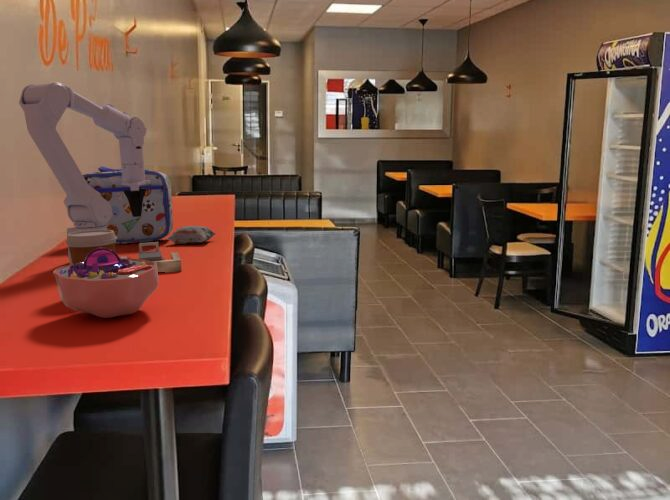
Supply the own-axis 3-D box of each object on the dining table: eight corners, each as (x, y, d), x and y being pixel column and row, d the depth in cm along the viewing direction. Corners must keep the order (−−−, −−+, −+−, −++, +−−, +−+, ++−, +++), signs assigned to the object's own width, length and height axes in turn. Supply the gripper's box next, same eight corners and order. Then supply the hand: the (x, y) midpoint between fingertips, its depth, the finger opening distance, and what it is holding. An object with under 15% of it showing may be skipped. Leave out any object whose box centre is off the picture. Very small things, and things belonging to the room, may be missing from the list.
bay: (121, 276, 155) (120, 265, 155) (121, 267, 166) (120, 256, 166) (181, 271, 159) (180, 260, 158) (178, 262, 170) (177, 252, 169)
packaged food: (206, 246, 194) (204, 228, 193) (165, 246, 196) (163, 228, 195) (216, 241, 202) (215, 224, 202) (177, 241, 204) (176, 224, 204)
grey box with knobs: (136, 273, 158) (134, 249, 157) (136, 266, 167) (134, 243, 166) (166, 270, 160) (164, 247, 159) (164, 263, 168) (162, 241, 167)
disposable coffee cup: (74, 301, 133) (68, 238, 131) (68, 292, 141) (61, 232, 139) (126, 294, 137) (120, 233, 135) (116, 285, 146) (111, 227, 144)
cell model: (61, 336, 110) (53, 264, 108) (55, 308, 128) (49, 247, 126) (171, 321, 116) (165, 253, 114) (151, 297, 134) (146, 238, 133)
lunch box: (72, 247, 199) (64, 168, 196) (84, 241, 210) (76, 167, 206) (170, 243, 200) (164, 165, 197) (177, 237, 210) (172, 163, 207)
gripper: (149, 164, 178) (153, 218, 180) (147, 162, 191) (151, 212, 194) (120, 166, 176) (124, 220, 178) (120, 163, 189) (124, 214, 192)
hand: (136, 216), depth 186 cm, fingers closed
